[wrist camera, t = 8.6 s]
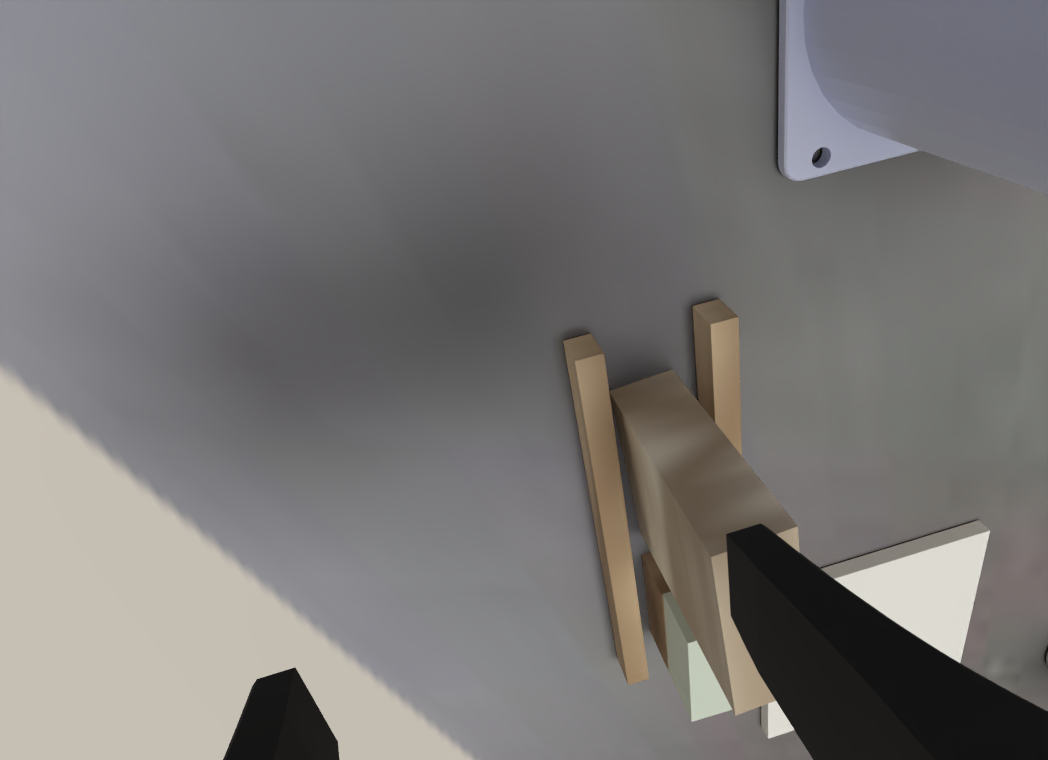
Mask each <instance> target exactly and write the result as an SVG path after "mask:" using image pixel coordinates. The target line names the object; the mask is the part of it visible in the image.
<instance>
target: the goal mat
mask: <svg viewBox="0 0 1048 760" xmlns="http://www.w3.org/2000/svg"><path fill="white" fill-rule="evenodd" d="M989 533H990V530H989V529H988V528H987V527H985V526H984V525H983V524H982V523H981V522H980V521H979V520H977V521H974V522H971V523H968V524H964V525H961V526H958V527H955V528H951V529H948V530H945V531H942V532H938V533H935V534H932V535H929V536H925V537H922V538H919V539H916V540H912V541H909V542H906V543H903V544H899V545H896V546H893V547H890V548H886V549H883V550H880V551H877V552H873V553H870V554H867V555H864V556H860V557H857V558H854V559H851V560H847V561H844V562H841V563H838V564H834V565H831V566H828V567H825V568H821V569H822V570H823V571H824V572H826V573H827V574H828V575H829V576H831V577H832V578H833V579H835V580H836V581H838V582H839V583H840V584H842V585H843V586H844V587H846V588H847V589H848V590H850V591H851V592H853V593H854V594H856V595H857V596H858V597H860V598H861V599H863V600H864V601H866V602H867V603H868V604H870V605H871V606H873V607H874V608H876V609H877V610H878V611H880V612H881V613H883V614H884V615H886V616H887V617H888V618H890V619H891V620H893V621H894V622H896V623H897V624H899V625H900V626H902V627H903V628H905V629H906V630H908V631H909V632H911V633H913V634H914V635H916V636H917V637H919V638H920V639H922V640H924V641H925V642H927V643H928V644H930V645H931V646H933V647H935V648H936V649H938V650H939V651H941V652H942V653H944V654H946V655H947V656H949V657H951V658H952V659H954V660H956V661H957V662H959V663H960V662H961V657H962V653H963V648H964V644H965V639H966V635H967V630H968V626H969V622H970V617H971V613H972V608H973V604H974V599H975V595H976V590H977V586H978V582H979V577H980V573H981V568H982V564H983V559H984V555H985V551H986V546H987V542H988V537H989ZM761 727H762V728H763V730H764V732H765V734H766V736H767V738H772V737H775V736H778V735H781V734H784V733H787V732H790V731H793V730H794V728H793V727H792V725H791V724H790V722H789V720H788V719H787V717H786V716H785V714H784V713H783V711H782V709H781V708H780V706H779V705H778V703H777V701H774V702H771V703H768V704H766V705H763V706H761Z"/></svg>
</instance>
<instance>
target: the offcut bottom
mask: <svg viewBox="0 0 1048 760" xmlns="http://www.w3.org/2000/svg"><path fill="white" fill-rule="evenodd" d="M641 557H642V565H643V574H644V583H645V591H646V600H647V609H648V617H649V626H650V631H651V634H652V636H653V638H654V640H655V642H656V645H657V647H658V649H659V651H660V653H661V655H662V658H663V660H664V662H665V664H666V666H667V669H668V656H667V642H666V628H665V614H664V600H663V594H665V593H668V592H671V590H670V589H669V587H668V585H667V583H666V581H665V579H664V577H663V575H662V573H661V571H660V569H659V567H658V565H657V564H656V562H655V560H654V558H653V556H652V554H651V552H649V553H646V554H642V555H641ZM668 671H669V670H668Z"/></svg>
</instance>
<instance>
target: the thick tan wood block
mask: <svg viewBox="0 0 1048 760" xmlns="http://www.w3.org/2000/svg"><path fill="white" fill-rule="evenodd" d="M609 394H610V398H611V403H612V407H613V412H614V416H615V421H616V425H617V429H618V434H619V438H620V443H621V447H622V452H623V456H624V461H625V465H626V470H627V474H628V479H629V483H630V487H631V492H632V496H633V501H634V505H635V510H636V514H637V519H638V523H639V528H640V532H641V535H642V537H643V539H644V540H645V542H646V544H647V546H648V548H649V550H650V552H651V554H652V556H653V558H654V560H655V562H656V564H657V565H658V567H659V569H660V571H661V573H662V575H663V577H664V579H665V581H666V583H667V585H668V587H669V589H670V590H671V592H672V594H673V596H674V598H675V600H676V602H677V604H678V606H679V608H680V610H681V612H682V614H683V615H684V617H685V619H686V621H687V623H688V625H689V627H690V629H691V631H692V633H693V635H694V637H695V639H696V641H697V642H698V644H699V646H700V648H701V650H702V652H703V654H704V656H705V658H706V660H707V662H708V664H709V666H710V667H711V669H712V671H713V673H714V675H715V677H716V679H717V681H718V683H719V685H720V687H721V689H722V691H723V692H724V694H725V696H726V698H727V700H728V702H729V704H730V706H731V708H732V710H733V712H734V714H735V716H736V715H738V714H741V713H744V712H747V711H749V710H752V709H755V708H757V707H760V706H763V705H766V704H768V703H771V702H774V701H776V700H775V698H774V697H773V695H772V694H771V692H770V690H769V689H768V687H767V686H766V684H765V682H764V681H763V679H762V677H761V676H760V674H759V673H758V671H757V669H756V667H755V665H754V663H753V661H752V659H751V657H750V655H749V653H748V651H747V649H746V647H745V645H744V643H743V640H742V638H741V636H740V634H739V632H738V630H737V628H736V626H735V624H734V622H733V620H732V617H731V612H730V595H729V577H728V559H727V542H726V534H728V533H731V532H734V531H737V530H741V529H744V528H747V527H750V526H754V525H757V524H760V523H761V524H763V525H765V526H766V527H768V528H769V529H770V530H772V531H773V532H774V533H775V534H777V535H778V536H779V537H780V538H782V539H783V540H784V541H785V542H787V543H788V544H789V545H790V546H792V547H793V548H794V549H795V550H797V551H798V552H799V539H798V526H797V525H796V524H795V522H794V521H793V520H792V518H791V517H790V516H789V515H788V513H787V512H786V511H785V510H784V508H783V507H782V506H781V505H780V503H779V502H778V501H777V500H776V498H775V497H774V496H773V495H772V493H771V492H770V491H769V490H768V488H767V487H766V486H765V485H764V483H763V482H762V481H761V480H760V478H759V477H758V476H757V475H756V473H755V472H754V471H753V470H752V468H751V467H750V466H749V465H748V463H747V462H746V461H745V459H744V458H743V457H742V456H741V454H740V453H739V452H738V451H737V449H736V448H735V447H734V446H733V444H732V443H731V442H730V441H729V439H728V438H727V437H726V436H725V434H724V433H723V432H722V431H721V429H720V428H719V427H718V426H717V424H716V423H715V422H714V421H713V419H712V418H711V417H710V416H709V414H708V413H707V412H706V411H705V409H704V408H703V407H702V406H701V404H700V403H699V402H698V400H697V399H696V398H695V397H694V395H693V394H692V393H691V392H690V390H689V389H688V388H687V387H686V385H685V384H684V383H683V382H682V380H681V379H680V378H679V377H678V375H677V374H676V373H675V372H674V370H673V369H672V370H669V371H666V372H663V373H660V374H657V375H654V376H651V377H648V378H645V379H643V380H640V381H637V382H634V383H631V384H628V385H625V386H622V387H619V388H616V389H613V390H610V391H609Z"/></svg>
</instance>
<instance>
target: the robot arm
mask: <svg viewBox="0 0 1048 760" xmlns="http://www.w3.org/2000/svg"><path fill="white" fill-rule="evenodd" d="M821 147H822V151H823V152H822V155H821V158H820V159H819V160H818V161H817V162H816V163H814V164H812V157H813V154H814V153H815V152H816V150H817V149H819V148H821ZM920 150H921V151H924V152H927V153H930V154H932V155H935V156H938V157H941V158H944V159H947V160H950V161H952V162H955V163H958V164H961V165H964V166H967V167H970V168H972V169H975V170H978V171H981V172H984V173H987V174H990V175H992V176H995V177H998V178H1001V179H1004V180H1007V181H1010V182H1012V183H1015V184H1018V185H1021V186H1024V187H1027V188H1030V189H1033V190H1035V191H1038V192H1041V193H1044V194H1047V195H1048V0H779V110H778V166H779V171H780V172H781V173H782V175H783V176H785V177H787V178H789V179H791V180H793V181H803V180H807V179H811V178H815V177H819V176H823V175H827V174H830V173H834V172H838V171H842V170H846V169H850V168H854V167H858V166H862V165H866V164H870V163H873V162H877V161H881V160H885V159H889V158H893V157H897V156H901V155H905V154H909V153H913V152H916V151H920ZM726 542H727V559H728V577H729V595H730V612H731V617H732V620H733V622H734V624H735V626H736V628H737V630H738V632H739V634H740V636H741V638H742V640H743V643H744V645H745V647H746V649H747V651H748V653H749V655H750V657H751V659H752V661H753V663H754V665H755V667H756V669H757V671H758V673H759V674H760V676H761V677H762V679H763V681H764V682H765V684H766V686H767V687H768V689H769V690H770V692H771V694H772V695H773V697H774V698H775V700H776V701H777V703H778V705H779V706H780V708H781V709H782V711H783V713H784V714H785V716H786V717H787V719H788V720H789V722H790V724H791V725H792V727H793V728H794V730H795V731H796V733H797V735H798V736H799V738H800V739H801V741H802V742H803V744H804V746H805V747H806V749H807V750H808V752H809V753H810V755H811V756H812V758H813V760H1048V711H1046V710H1044V709H1042V708H1040V707H1038V706H1036V705H1034V704H1032V703H1031V702H1029V701H1027V700H1025V699H1023V698H1021V697H1019V696H1017V695H1015V694H1013V693H1012V692H1010V691H1008V690H1006V689H1004V688H1003V687H1001V686H999V685H997V684H995V683H994V682H992V681H990V680H988V679H986V678H985V677H983V676H981V675H979V674H978V673H976V672H974V671H972V670H971V669H969V668H967V667H966V666H964V665H962V664H961V663H959V662H957V661H956V660H954V659H952V658H951V657H949V656H947V655H946V654H944V653H942V652H941V651H939V650H938V649H936V648H935V647H933V646H931V645H930V644H928V643H927V642H925V641H924V640H922V639H920V638H919V637H917V636H916V635H914V634H913V633H911V632H909V631H908V630H906V629H905V628H903V627H902V626H900V625H899V624H897V623H896V622H894V621H893V620H891V619H890V618H888V617H887V616H886V615H884V614H883V613H881V612H880V611H878V610H877V609H876V608H874V607H873V606H871V605H870V604H868V603H867V602H866V601H864V600H863V599H861V598H860V597H858V596H857V595H856V594H854V593H853V592H851V591H850V590H848V589H847V588H846V587H844V586H843V585H842V584H840V583H839V582H838V581H836V580H835V579H833V578H832V577H831V576H829V575H828V574H827V573H826V572H824V571H823V570H822V569H820V568H819V567H818V566H816V565H815V564H814V563H812V562H811V561H810V560H808V559H807V558H806V557H804V556H803V555H802V554H801V553H799V552H798V551H797V550H795V549H794V548H793V547H792V546H790V545H789V544H788V543H787V542H785V541H784V540H783V539H782V538H780V537H779V536H778V535H777V534H775V533H774V532H773V531H772V530H770V529H769V528H768V527H766V526H765V525H763V524H761V523H760V524H757V525H754V526H750V527H747V528H744V529H741V530H737V531H734V532H731V533H728V534H726ZM223 760H339V752H338V741H337V740H336V738H335V736H334V734H333V733H332V731H331V729H330V728H329V726H328V724H327V722H326V721H325V719H324V717H323V715H322V714H321V712H320V710H319V708H318V706H317V705H316V703H315V701H314V699H313V698H312V696H311V694H310V693H309V691H308V689H307V687H306V685H305V684H304V682H303V680H302V678H301V677H300V675H299V673H298V672H297V670H296V668H292V669H289V670H286V671H283V672H279V673H276V674H273V675H269V676H266V677H263V678H260V679H257V680H256V682H255V683H254V685H253V686H252V689H251V692H250V694H249V696H248V699H247V702H246V704H245V707H244V709H243V712H242V715H241V717H240V720H239V722H238V724H237V727H236V729H235V732H234V735H233V737H232V740H231V742H230V744H229V747H228V749H227V752H226V754H225V757H224V759H223Z"/></svg>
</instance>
